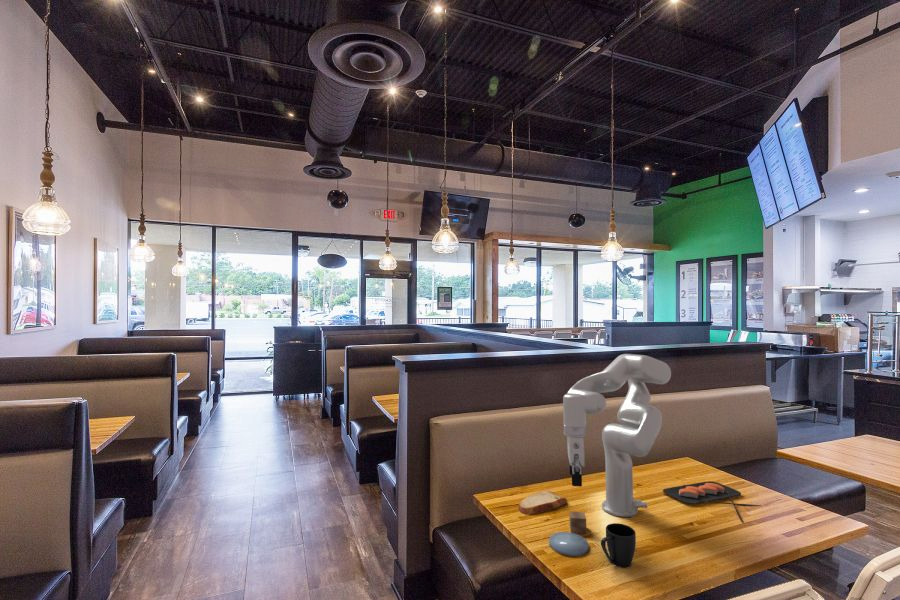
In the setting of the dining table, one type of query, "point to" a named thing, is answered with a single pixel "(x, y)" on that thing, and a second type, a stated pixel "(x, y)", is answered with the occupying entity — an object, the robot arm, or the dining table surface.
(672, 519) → the dining table surface
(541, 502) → the bread slice
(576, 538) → the dish
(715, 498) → the sushi plate
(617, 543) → the mug
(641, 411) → the robot arm
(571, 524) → the block
